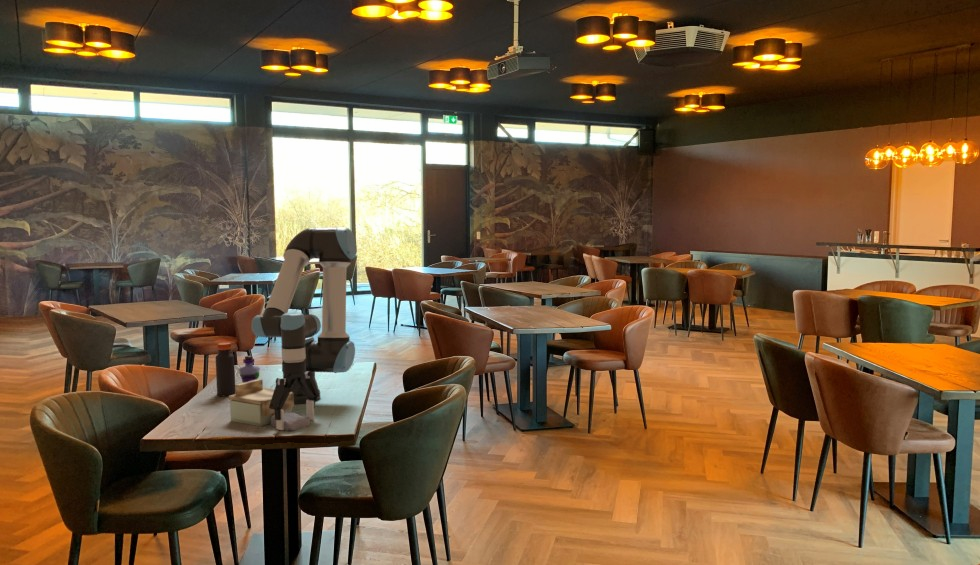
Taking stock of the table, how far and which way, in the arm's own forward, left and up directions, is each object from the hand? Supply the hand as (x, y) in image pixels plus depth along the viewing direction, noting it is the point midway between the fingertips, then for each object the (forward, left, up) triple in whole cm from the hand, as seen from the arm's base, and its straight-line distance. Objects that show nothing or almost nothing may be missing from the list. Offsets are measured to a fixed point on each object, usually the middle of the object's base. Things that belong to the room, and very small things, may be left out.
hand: (295, 424), depth 235 cm
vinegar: (-18, -55, 0) cm, 58 cm away
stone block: (+1, -1, -1) cm, 1 cm away
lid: (0, -16, +3) cm, 16 cm away
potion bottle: (-34, -60, 0) cm, 69 cm away
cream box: (0, -16, 0) cm, 16 cm away
